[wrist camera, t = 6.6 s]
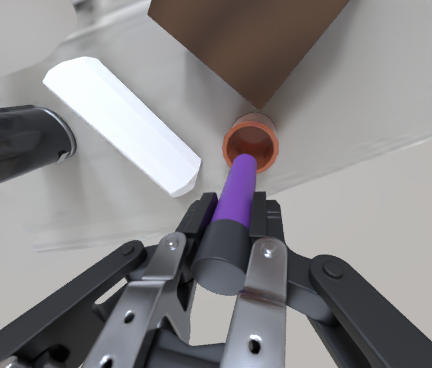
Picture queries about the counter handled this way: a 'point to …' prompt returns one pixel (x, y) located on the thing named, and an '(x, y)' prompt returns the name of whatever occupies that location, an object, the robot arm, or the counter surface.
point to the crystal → (125, 122)
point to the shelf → (248, 37)
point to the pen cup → (252, 140)
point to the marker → (228, 233)
